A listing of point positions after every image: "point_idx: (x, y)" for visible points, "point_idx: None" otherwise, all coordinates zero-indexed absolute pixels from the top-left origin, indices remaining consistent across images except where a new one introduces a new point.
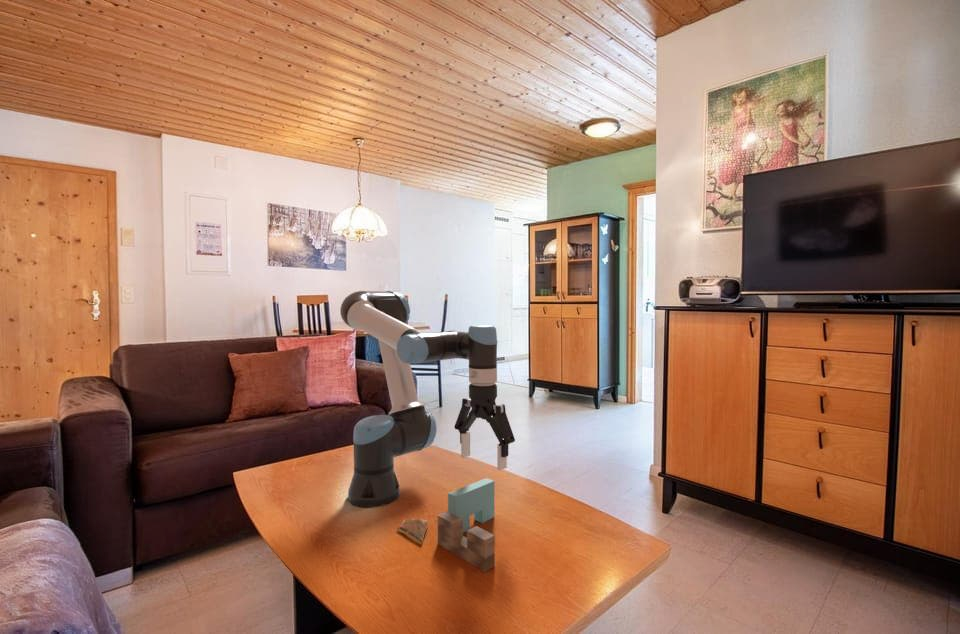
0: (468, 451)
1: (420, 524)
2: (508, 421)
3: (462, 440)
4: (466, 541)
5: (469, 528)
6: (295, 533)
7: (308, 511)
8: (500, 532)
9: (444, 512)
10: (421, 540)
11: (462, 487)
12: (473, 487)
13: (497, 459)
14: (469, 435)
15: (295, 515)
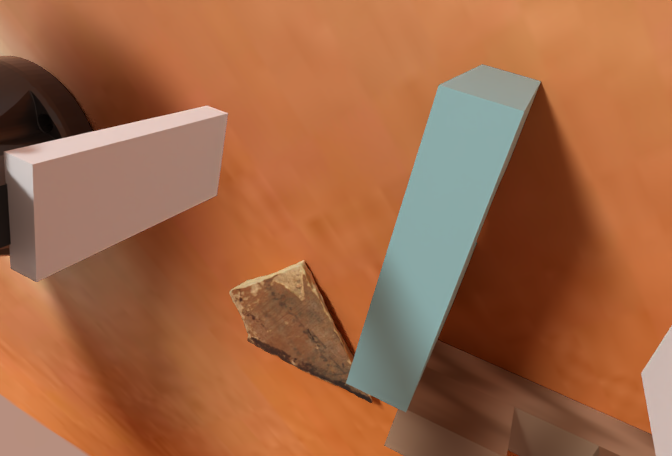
0: (199, 143)
1: (298, 310)
2: None
3: (93, 248)
4: (550, 441)
5: (475, 245)
6: (76, 411)
7: (3, 313)
8: (633, 212)
9: (395, 417)
10: (365, 395)
11: (373, 297)
12: (433, 275)
13: (655, 447)
14: (68, 165)
15: (4, 340)
